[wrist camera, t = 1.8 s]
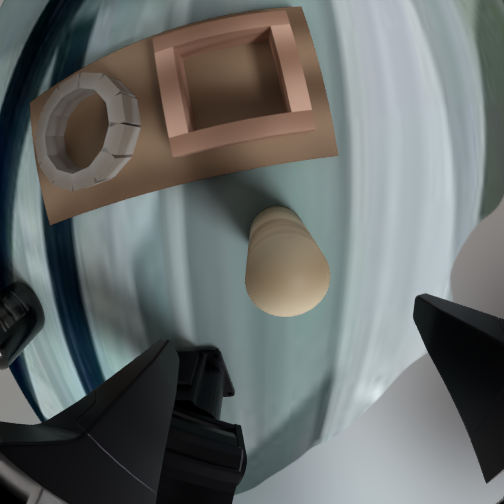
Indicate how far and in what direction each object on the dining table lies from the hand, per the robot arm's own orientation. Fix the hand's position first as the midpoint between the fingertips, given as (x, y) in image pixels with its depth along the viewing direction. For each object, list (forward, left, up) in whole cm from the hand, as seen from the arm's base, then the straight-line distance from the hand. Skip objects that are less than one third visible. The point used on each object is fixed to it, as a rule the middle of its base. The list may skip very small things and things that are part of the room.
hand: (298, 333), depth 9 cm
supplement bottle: (-3, +30, -12) cm, 32 cm away
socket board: (+11, +7, -12) cm, 18 cm away
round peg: (0, 0, -12) cm, 12 cm away
